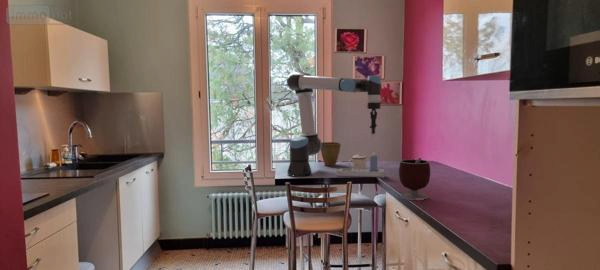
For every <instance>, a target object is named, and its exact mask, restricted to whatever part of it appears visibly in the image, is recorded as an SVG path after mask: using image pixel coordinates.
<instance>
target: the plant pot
mask: <svg viewBox="0 0 600 270" xmlns="http://www.w3.org/2000/svg"><path fill="white" fill-rule="evenodd" d="M321 143H322V147H321V150H320V153H321V157H322V160H323V163H324V165H325V166H326V167H334V166H336V164H337V160H338V158H339V155H340V149H341V144H342V143H341V142H334V141H332V142H331V141H326V142H324V141H323V142H321Z"/></svg>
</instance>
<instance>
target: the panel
mask: <svg viewBox="0 0 600 270" xmlns="http://www.w3.org/2000/svg"><path fill="white" fill-rule="evenodd" d="M335 173H336V174H335V176H336V177H354V178H355V177H356V178H358V177H361V178H362V177H364V178H370V177H371V178H380V180H385V169H384V168H383V169H382V168H380V169H379V168H377V171H370V168H366V169H353V168H340V167H339V168H337V169H336V172H335Z"/></svg>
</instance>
